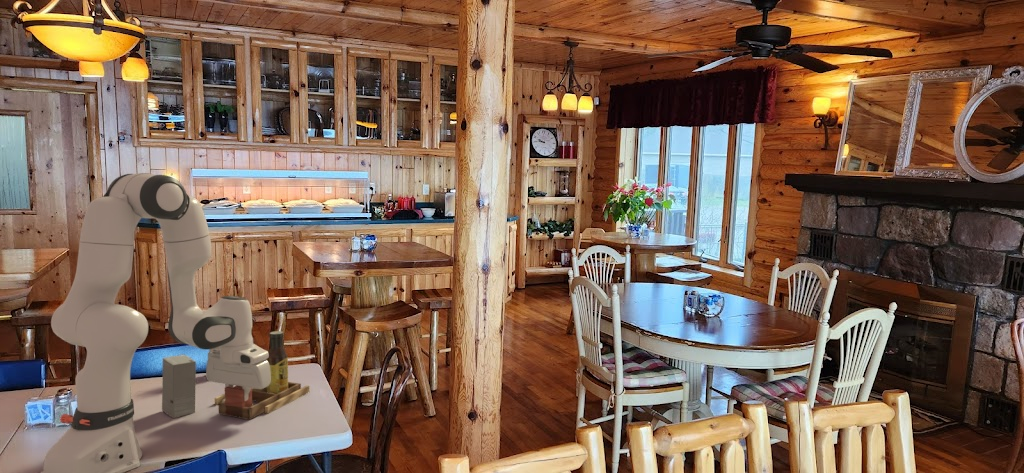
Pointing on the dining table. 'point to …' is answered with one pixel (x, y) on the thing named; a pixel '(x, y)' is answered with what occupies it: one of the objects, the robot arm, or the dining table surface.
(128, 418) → the robot arm
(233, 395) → the wooden condiment caddy
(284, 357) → the sauce bottle
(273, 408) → the oak lane rails
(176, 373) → the skincare box
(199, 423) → the dining table surface
